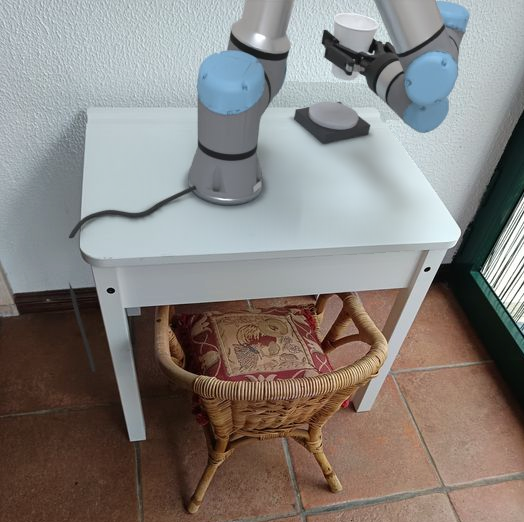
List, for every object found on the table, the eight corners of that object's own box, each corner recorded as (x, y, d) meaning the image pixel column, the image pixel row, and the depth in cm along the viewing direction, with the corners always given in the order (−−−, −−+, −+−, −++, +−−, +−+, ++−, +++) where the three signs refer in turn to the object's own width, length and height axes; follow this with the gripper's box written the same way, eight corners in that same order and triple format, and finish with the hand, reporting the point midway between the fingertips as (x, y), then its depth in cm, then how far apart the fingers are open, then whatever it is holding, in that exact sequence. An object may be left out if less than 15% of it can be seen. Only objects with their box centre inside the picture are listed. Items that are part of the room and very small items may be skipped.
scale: (323, 144, 117) (326, 130, 114) (294, 118, 123) (296, 105, 121) (368, 134, 122) (371, 121, 120) (337, 110, 129) (340, 97, 126)
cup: (365, 70, 116) (378, 16, 108) (366, 87, 110) (380, 32, 101) (323, 63, 116) (333, 9, 107) (322, 80, 110) (333, 25, 101)
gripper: (340, 102, 97) (296, 55, 110) (428, 96, 104) (377, 52, 116) (349, 61, 92) (302, 17, 104) (442, 57, 98) (387, 16, 111)
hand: (342, 36), depth 110 cm, fingers closed on cup, 8 cm apart
